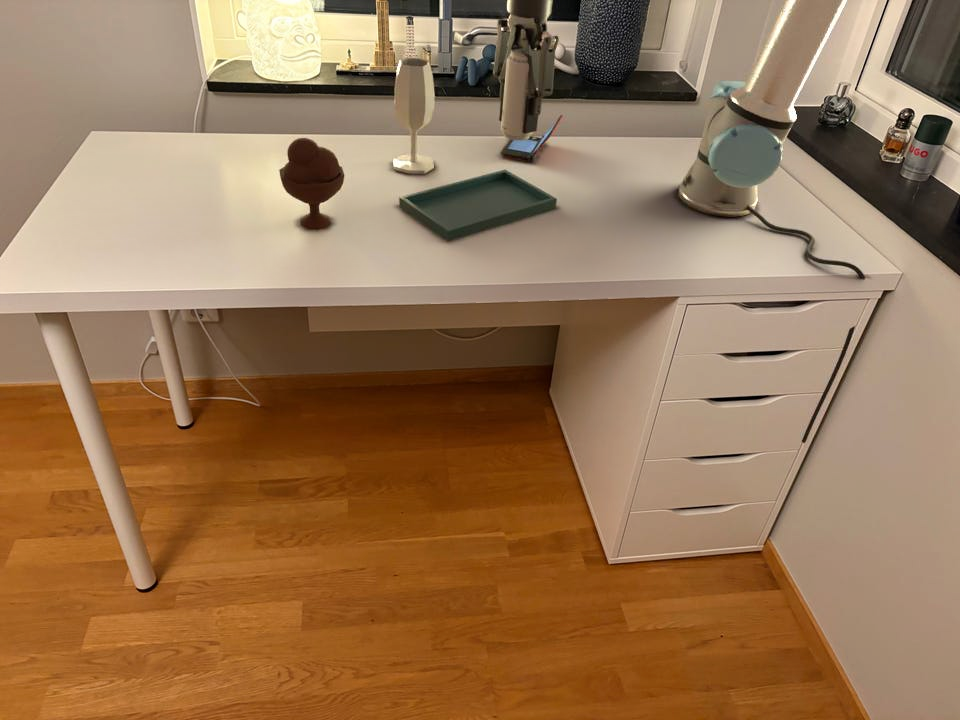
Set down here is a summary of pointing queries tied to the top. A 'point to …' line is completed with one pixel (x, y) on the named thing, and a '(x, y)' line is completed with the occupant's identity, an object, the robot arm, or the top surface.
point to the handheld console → (527, 146)
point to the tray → (476, 204)
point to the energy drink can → (515, 95)
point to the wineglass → (414, 109)
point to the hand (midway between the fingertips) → (517, 125)
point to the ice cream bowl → (311, 179)
